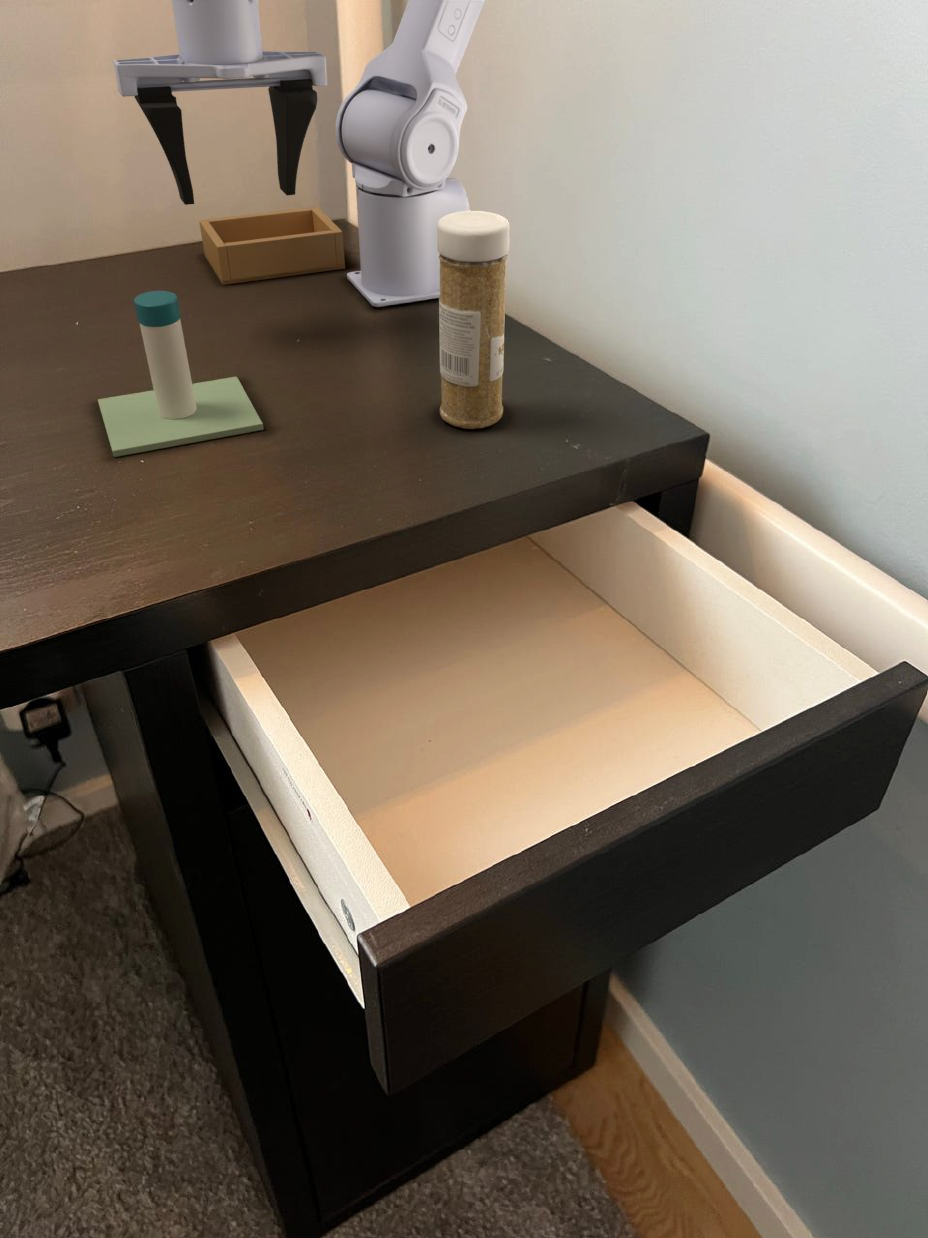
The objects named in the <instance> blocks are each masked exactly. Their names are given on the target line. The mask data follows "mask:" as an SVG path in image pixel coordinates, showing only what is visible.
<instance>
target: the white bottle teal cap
mask: <svg viewBox="0 0 928 1238" xmlns="http://www.w3.org/2000/svg"><path fill="white" fill-rule="evenodd" d="M133 302H134V303H133V304H134V307H135V313H136V317H137V318H136V319H137V322H138V323H139V328H140V332H141V336H142V341H143V346H144V352H145V356H146V361H147V365H148V370H149V375H150V380H151V384H152V389H153V390H154V394H155V399H156V403H157V408H158V413H159V415H160V416H161V417H163V418H167V419H181V418H185V417H188V416H191V415H192V414H194V413H195V412H196V409H197V407H196V402H195V397H194V391H193V386H192V384H193V379H192V375H191V370H190V365H189V359H188V354H187V348H186V342H185V337H184V332H183V331H184V330H183V326H182V321H181V311H180V306H179V300H178V296H177V294H175V293H174V292H172V291H168V290H151V291H146V292H142V293H140V294H138V295H137V296H136V297H135V298H134V299H133Z"/></svg>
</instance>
